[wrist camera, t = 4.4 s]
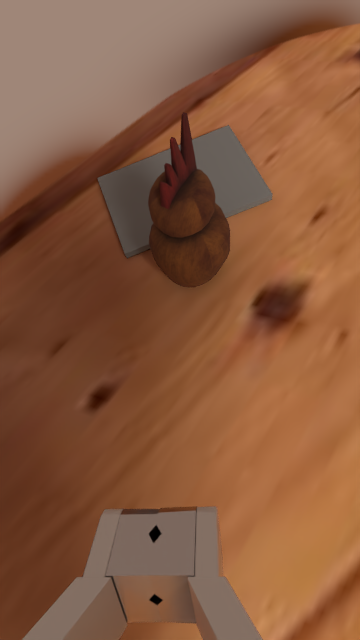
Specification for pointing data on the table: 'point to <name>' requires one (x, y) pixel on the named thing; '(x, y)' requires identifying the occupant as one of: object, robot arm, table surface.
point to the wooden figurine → (186, 218)
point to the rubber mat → (211, 157)
